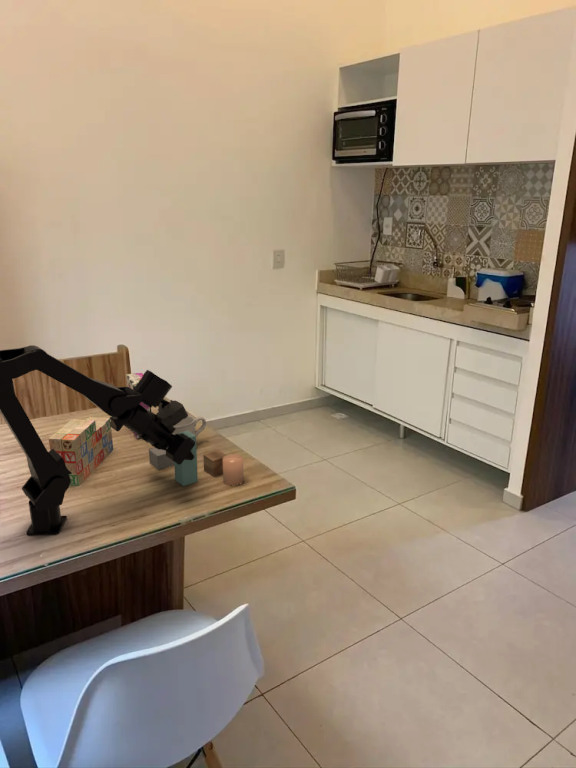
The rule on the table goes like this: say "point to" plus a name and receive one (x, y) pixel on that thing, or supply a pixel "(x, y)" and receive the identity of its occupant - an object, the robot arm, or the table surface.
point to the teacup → (190, 425)
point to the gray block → (159, 459)
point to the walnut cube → (214, 463)
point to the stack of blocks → (83, 446)
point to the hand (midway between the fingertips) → (188, 455)
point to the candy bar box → (132, 382)
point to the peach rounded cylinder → (233, 469)
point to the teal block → (187, 466)
